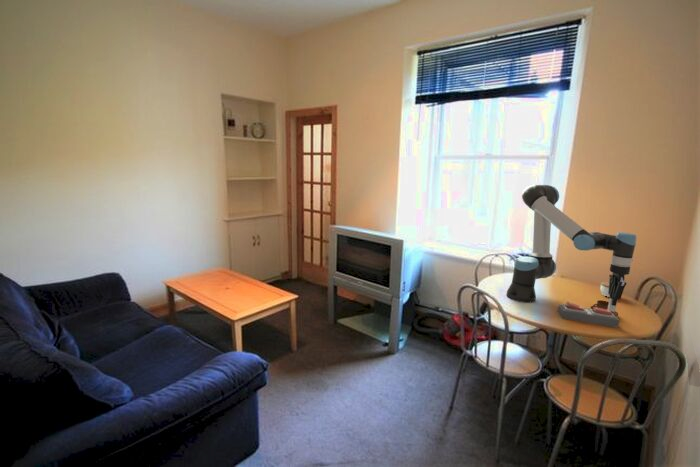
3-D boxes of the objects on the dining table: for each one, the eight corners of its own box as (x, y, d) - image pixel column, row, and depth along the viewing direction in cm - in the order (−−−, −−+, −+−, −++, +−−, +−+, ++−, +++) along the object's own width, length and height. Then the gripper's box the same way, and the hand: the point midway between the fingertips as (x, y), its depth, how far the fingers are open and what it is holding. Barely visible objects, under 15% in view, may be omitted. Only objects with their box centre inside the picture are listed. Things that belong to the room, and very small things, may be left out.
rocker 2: (595, 311, 169) (596, 309, 169) (592, 308, 173) (593, 306, 172) (611, 315, 167) (612, 312, 167) (608, 312, 171) (609, 309, 170)
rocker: (568, 306, 173) (569, 303, 172) (566, 303, 176) (567, 301, 176) (582, 311, 171) (584, 309, 171) (580, 308, 174) (581, 306, 174)
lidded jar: (617, 301, 200) (621, 286, 198) (596, 295, 208) (599, 280, 206) (622, 297, 206) (625, 283, 204) (601, 291, 214) (604, 277, 212)
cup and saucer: (605, 319, 174) (608, 308, 172) (584, 309, 185) (586, 299, 183) (623, 318, 177) (625, 307, 176) (600, 308, 188) (603, 298, 187)
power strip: (561, 318, 172) (563, 309, 171) (557, 311, 180) (559, 302, 179) (617, 327, 165) (620, 318, 164) (610, 320, 173) (612, 311, 172)
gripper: (636, 269, 156) (626, 317, 161) (623, 262, 169) (614, 306, 173) (617, 267, 159) (607, 314, 163) (606, 260, 171) (597, 304, 176)
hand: (611, 310), depth 168 cm, fingers closed
